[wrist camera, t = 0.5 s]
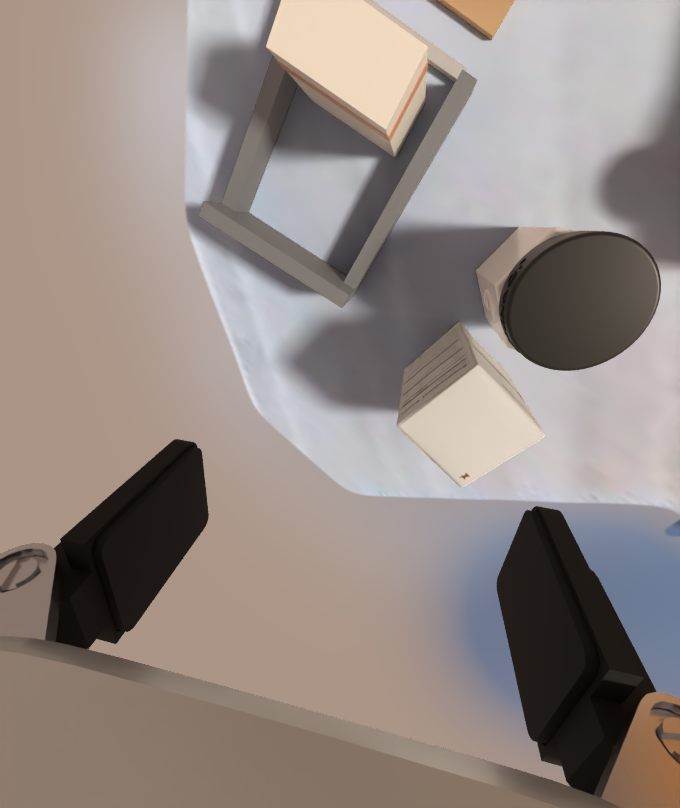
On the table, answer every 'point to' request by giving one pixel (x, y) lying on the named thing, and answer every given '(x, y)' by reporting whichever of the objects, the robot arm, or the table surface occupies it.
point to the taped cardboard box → (353, 65)
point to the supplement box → (464, 408)
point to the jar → (569, 295)
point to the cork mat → (480, 13)
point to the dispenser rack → (258, 150)
